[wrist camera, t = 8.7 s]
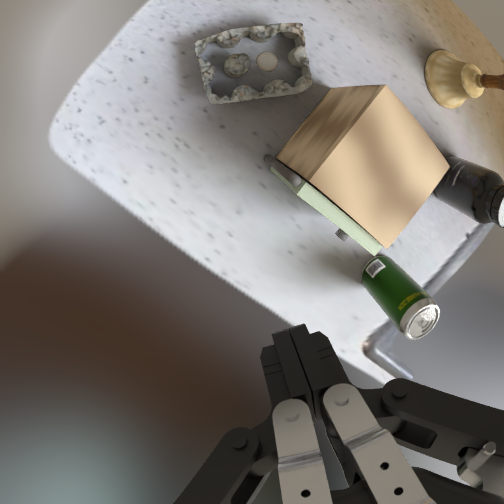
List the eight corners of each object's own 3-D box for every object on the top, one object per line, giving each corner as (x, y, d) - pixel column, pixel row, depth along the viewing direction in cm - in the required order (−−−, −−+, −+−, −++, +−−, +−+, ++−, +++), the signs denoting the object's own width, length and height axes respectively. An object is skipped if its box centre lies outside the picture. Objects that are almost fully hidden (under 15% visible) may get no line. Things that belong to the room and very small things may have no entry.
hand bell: (425, 104, 31) (525, 122, 17) (422, 44, 27) (520, 37, 13) (466, 112, 32) (556, 134, 18) (464, 57, 28) (554, 62, 14)
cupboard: (324, 82, 29) (377, 75, 19) (389, 146, 33) (449, 166, 23) (262, 158, 32) (290, 183, 22) (334, 215, 36) (379, 257, 26)
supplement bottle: (432, 155, 34) (499, 179, 24) (465, 155, 35) (527, 179, 24) (429, 203, 37) (489, 239, 27) (460, 200, 38) (518, 232, 27)
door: (276, 160, 32) (306, 182, 23) (339, 210, 35) (382, 246, 26) (263, 176, 32) (288, 204, 23) (328, 224, 36) (367, 264, 27)
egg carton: (294, 29, 26) (307, 20, 22) (305, 93, 29) (319, 92, 26) (192, 41, 25) (192, 31, 22) (204, 108, 29) (205, 107, 25)
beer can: (351, 277, 40) (395, 333, 30) (377, 246, 39) (429, 295, 28) (374, 293, 42) (417, 346, 32) (398, 264, 41) (447, 313, 30)
